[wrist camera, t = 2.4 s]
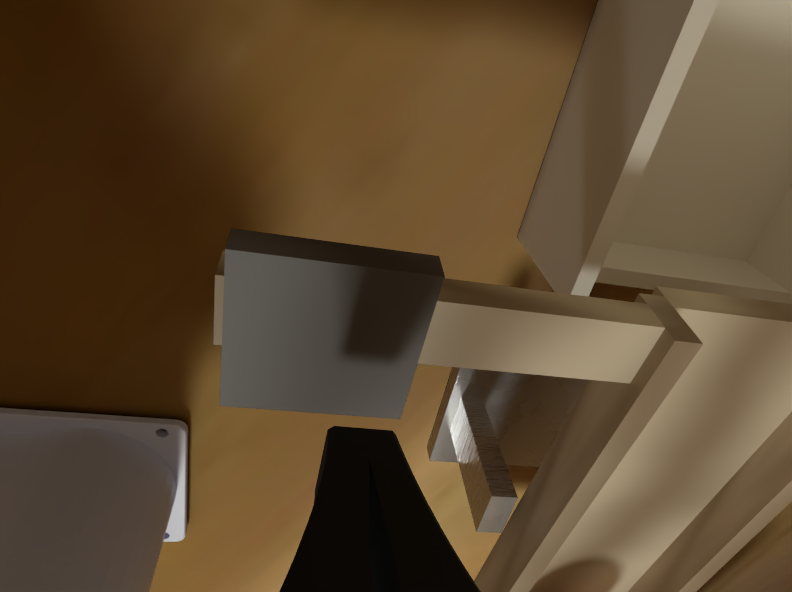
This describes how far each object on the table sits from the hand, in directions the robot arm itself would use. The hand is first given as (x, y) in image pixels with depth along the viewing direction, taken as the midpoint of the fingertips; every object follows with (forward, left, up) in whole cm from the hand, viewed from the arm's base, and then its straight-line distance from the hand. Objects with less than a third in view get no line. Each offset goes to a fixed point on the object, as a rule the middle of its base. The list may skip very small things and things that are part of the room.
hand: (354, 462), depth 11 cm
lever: (+6, -7, -5) cm, 11 cm away
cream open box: (+12, +7, -11) cm, 17 cm away
